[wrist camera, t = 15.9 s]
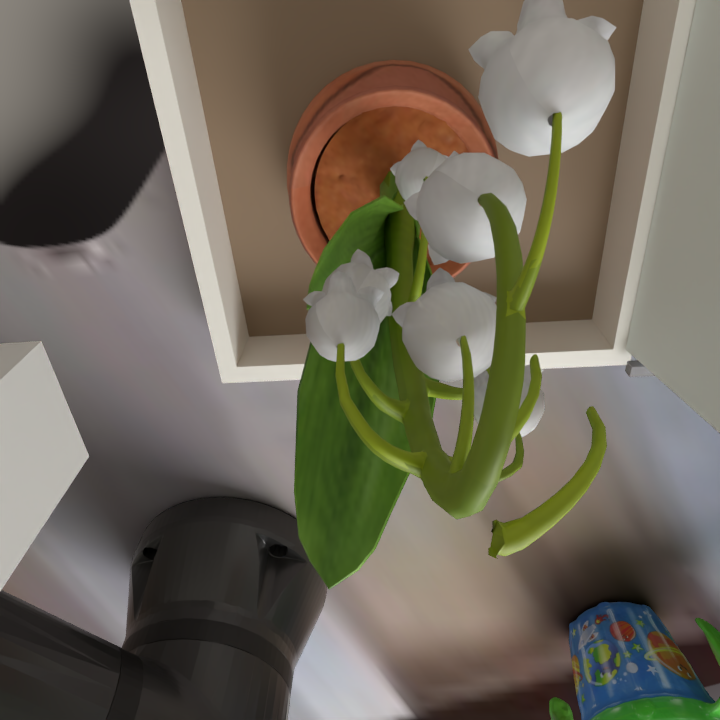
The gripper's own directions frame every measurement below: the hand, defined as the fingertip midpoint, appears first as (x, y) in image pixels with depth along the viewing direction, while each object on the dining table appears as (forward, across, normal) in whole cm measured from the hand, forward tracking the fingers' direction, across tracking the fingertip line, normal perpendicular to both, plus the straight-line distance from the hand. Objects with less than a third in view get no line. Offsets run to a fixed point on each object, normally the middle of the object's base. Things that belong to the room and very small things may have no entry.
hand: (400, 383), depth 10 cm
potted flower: (+20, +1, 0) cm, 20 cm away
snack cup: (+21, +18, -40) cm, 48 cm away
